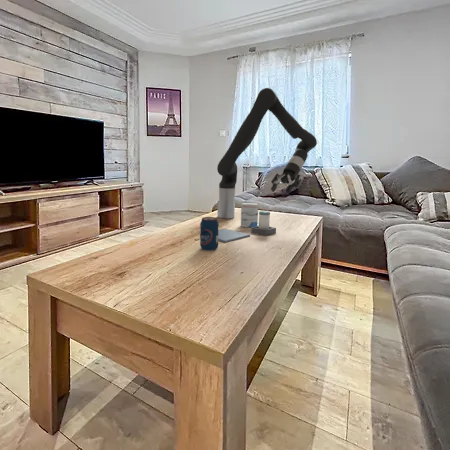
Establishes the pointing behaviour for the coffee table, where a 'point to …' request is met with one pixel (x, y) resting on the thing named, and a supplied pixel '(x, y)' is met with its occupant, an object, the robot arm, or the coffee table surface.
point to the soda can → (209, 233)
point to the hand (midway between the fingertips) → (279, 191)
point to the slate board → (230, 235)
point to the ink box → (249, 215)
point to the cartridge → (264, 220)
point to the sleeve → (263, 231)
